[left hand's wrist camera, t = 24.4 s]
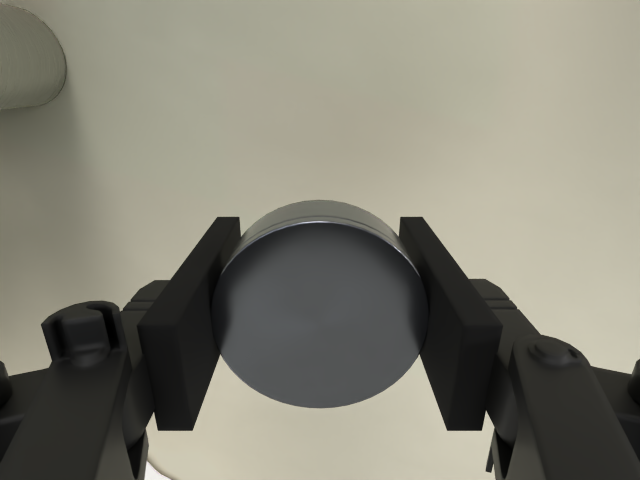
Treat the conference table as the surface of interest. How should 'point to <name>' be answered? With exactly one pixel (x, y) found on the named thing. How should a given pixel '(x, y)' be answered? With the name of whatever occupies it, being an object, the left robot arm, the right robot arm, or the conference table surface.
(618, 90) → the conference table surface
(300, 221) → the lid
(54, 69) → the thermos bottle
